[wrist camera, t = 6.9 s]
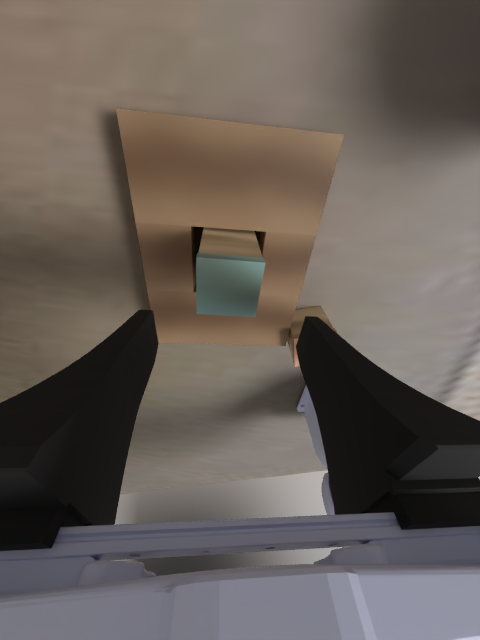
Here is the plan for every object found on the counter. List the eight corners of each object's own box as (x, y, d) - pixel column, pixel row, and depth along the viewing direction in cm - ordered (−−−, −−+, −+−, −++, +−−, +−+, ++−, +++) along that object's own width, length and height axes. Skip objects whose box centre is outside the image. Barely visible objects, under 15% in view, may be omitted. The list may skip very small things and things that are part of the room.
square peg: (246, 266, 20) (255, 317, 15) (204, 263, 20) (196, 313, 14) (252, 223, 18) (265, 262, 13) (204, 218, 18) (196, 257, 12)
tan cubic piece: (319, 332, 26) (333, 361, 22) (285, 337, 26) (294, 366, 22) (321, 305, 23) (336, 332, 20) (284, 310, 24) (294, 338, 20)
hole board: (280, 329, 25) (285, 345, 23) (161, 325, 24) (156, 342, 22) (328, 134, 15) (344, 134, 13) (131, 111, 14) (115, 108, 12)
